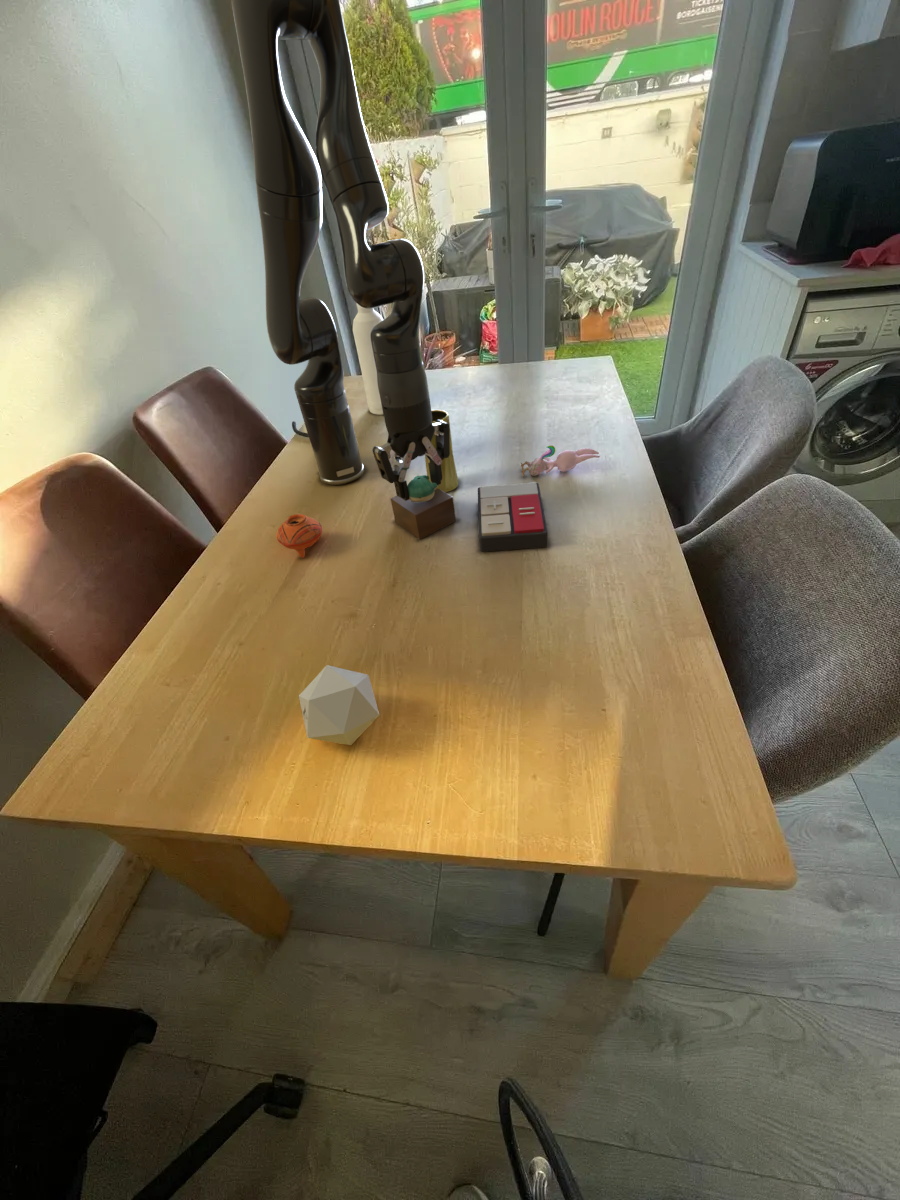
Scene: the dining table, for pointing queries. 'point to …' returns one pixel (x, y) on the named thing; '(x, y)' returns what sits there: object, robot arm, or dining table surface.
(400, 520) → the walnut block
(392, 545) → the dining table surface
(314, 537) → the pot
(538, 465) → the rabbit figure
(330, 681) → the die
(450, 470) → the vase
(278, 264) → the robot arm
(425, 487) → the whale figurine
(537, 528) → the calculator
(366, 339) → the bottle
